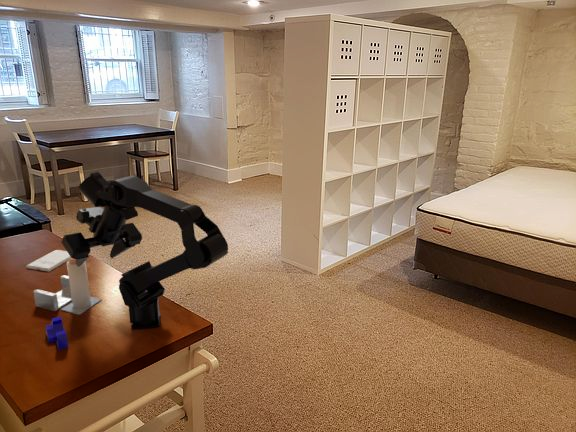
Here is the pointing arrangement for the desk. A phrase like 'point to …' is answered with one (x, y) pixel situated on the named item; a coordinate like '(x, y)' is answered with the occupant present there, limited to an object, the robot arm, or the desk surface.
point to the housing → (54, 296)
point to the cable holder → (57, 333)
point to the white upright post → (78, 284)
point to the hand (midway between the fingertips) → (94, 261)
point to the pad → (79, 311)
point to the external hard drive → (50, 261)
